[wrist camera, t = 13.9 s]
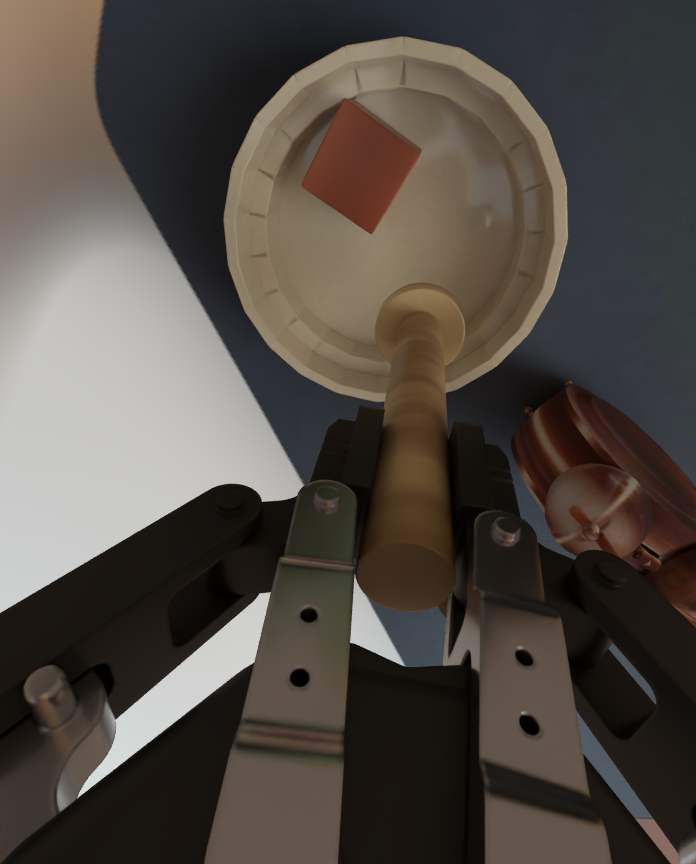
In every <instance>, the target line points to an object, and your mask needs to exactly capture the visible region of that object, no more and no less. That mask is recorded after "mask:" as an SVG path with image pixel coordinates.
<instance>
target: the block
mask: <svg viewBox="0 0 696 864" xmlns="http://www.w3.org/2000/svg"><path fill="white" fill-rule="evenodd" d="M421 152H422V150H421V148H419V147H418V146H417V145H415V144H414V143H413V142H411V141H410V140H409V139H407V138H406V137H405V136H403V135H402V134H401V133H399V132H398V131H396V130H395V129H394V128H392V127H391V126H390V125H388V124H387V123H386V122H384V121H383V120H382V119H380V118H379V117H378V116H376V115H375V114H374V113H372V112H371V111H370V110H368V109H367V108H366V107H364V106H363V105H362V104H360V103H359V102H357V101H354V100H350V99H346V98H344V99H343V100H342V102H341V104H340V106H339V108H338V110H337V112H336V114H335V116H334V118H333V120H332V122H331V125H330V127H329V129H328V131H327V133H326V135H325V137H324V139H323V141H322V143H321V145H320V147H319V149H318V151H317V153H316V155H315V157H314V159H313V161H312V163H311V165H310V167H309V170H308V172H307V174H306V176H305V178H304V180H303V182H302V184H301V186H302V187H303V188H304V189H306V190H307V191H309V192H310V193H312V194H313V195H314V196H316V197H317V198H319V199H320V200H322V201H323V202H325V203H326V204H327V205H329V206H330V207H332V208H333V209H335V210H336V211H338V212H339V213H340V214H342V215H343V216H345V217H346V218H348V219H349V220H351V221H352V222H353V223H355V224H356V225H358V226H359V227H361V228H362V229H364V230H365V231H366V232H368V233H369V234H373V232H374V231H375V229H376V227H377V226H378V224H379V222H380V221H381V219H382V217H383V216H384V214H385V212H386V211H387V209H388V207H389V206H390V204H391V203H392V201H393V199H394V198H395V196H396V194H397V193H398V191H399V189H400V188H401V186H402V184H403V183H404V181H405V179H406V178H407V176H408V174H409V173H410V171H411V170H412V168H413V166H414V165H415V163H416V161H417V160H418V158H419V156H420V154H421Z"/></svg>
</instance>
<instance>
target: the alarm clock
mask: <svg viewBox="0 0 696 864" xmlns="http://www.w3.org/2000/svg"><path fill="white" fill-rule="evenodd" d="M565 386H566V388H565V389H563V390H562V391H561V392H559V393H558V394H557V395H555V396H554V397H552V398H551V399H549V400H548V401H547V402H545V403H544V404H542V405H541V406H540V407H539V408H538V409H537V410H536V411H535V412H534V413H533V412H532V411H533V410H532V408H531V407H526V408H525V410H524V412H525V413H526V414H528V415H529V418H528V419H527V420H526V422H525V423H524V424H523V425H522V426H521V427H520V428H519V429H518V430H517V432H516V433H515V434H514V435H513V437H512V440H511V448H512V452H513V456H514V459H515V462H516V464H517V468H518V470H519V472H520V475H521V477H522V479H523V481H524V483H525V484H526V486H527V488H528V489H529V491H530V493H531V494H532V496H533V497H534V499H535V500H536V502H537V503H538V504H539V506H540V507H541V509H542V510H543V511H544V512H545V518H546V522H547V526H548V528H549V530H550V532H551V534H552V535H553V537H554V538H555V540H556V541H557V542H558V543H559V544H560V545H561V546H562V547H563V548H564V549H565V550H567V551H568V552H570V553H572V554H573V555H575V556H578V555H579V554H580V553H581V552H583V551H586V550H601V551H605V552H608V553H611V554H614V555H616V556H618V557H620V558H621V559H623V560H625V561H626V562H627V563H629V564H630V565H631V566H632V567H634V568H635V569H636V570H637V571H638V572H639V573H640V574H641V575H642V576H643V577H644V578H645V579H646V580H647V581H648V582H649V583H650V584H651V585H652V586H653V587H654V588H655V589H656V590H657V591H659V592H660V593H661V594H662V595H663V596H664V597H665V598H666V599H667V600H668V601H669V602H670V603H671V604H672V605H673V606H674V607H675V608H676V609H677V610H678V611H679V612H680V613H681V614H682V615H683V616H685V617H686V618H687V619H688V620H689V621H690V622H691V623H692V624H693V625H694V626H695V627H696V488H695V486H694V485H693V484H692V482H691V481H690V480H689V478H688V477H687V476H686V475H685V473H684V472H683V471H682V470H681V469H680V468H679V466H678V465H677V464H676V463H675V462H674V461H673V460H672V459H671V458H670V456H669V455H668V454H667V453H666V452H665V451H664V450H663V449H662V448H661V447H660V446H659V445H658V444H657V443H656V442H655V441H654V440H653V439H652V438H651V437H650V436H648V435H647V434H646V433H645V432H644V431H643V430H642V429H641V428H640V427H639V426H638V425H636V424H635V423H634V422H633V421H632V420H630V419H629V418H628V417H627V416H626V415H624V414H623V413H622V412H620V411H619V410H618V409H616V408H615V407H613V406H612V405H611V404H609V403H607V402H606V401H604V400H602V399H600V398H598V397H596V396H595V395H593V394H592V393H590V392H588V391H587V390H585V389H583V388H581V387H578V386H575V385H573V383H572V382H571V381H566V382H565Z"/></svg>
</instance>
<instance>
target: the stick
mask: <svg viewBox="0 0 696 864" xmlns="http://www.w3.org/2000/svg"><path fill="white" fill-rule="evenodd" d="M465 330H466V327H465V320H464V315H463V311H462V309H461V306H460V304H459V303H458V301H457V300H456V298H455V297H454V296H453V295H452V294H451V293H450V292H448V291H447V290H445V289H444V288H442V287H440V286H437V285H434V284H430V283H413V284H409V285H406V286H403V287H401V288H399V289H397V290H396V291H395V292H393V293H392V294H391V295H390V296H389V297H388V298H387V299H386V300H385V302H384V303H383V305H382V306H381V308H380V310H379V313H378V317H377V320H376V324H375V339H376V344H377V346H378V349H379V351H380V353H381V354H382V356H383V357H384V358H385V359H386V360H387V361H388V362H389V363H390V364H391V368H390V374H389V380H388V385H387V391H386V397H385V403H384V408H383V409H385V413H384V419H383V425H382V431H381V437H380V443H379V449H378V455H377V461H376V467H375V473H374V479H373V485H372V491H371V497H370V503H369V509H368V514H367V516H366V518H365V520H364V524H363V529H362V534H361V540H360V546H359V552H358V557H357V563H356V569H355V575H356V579H357V582H358V585H359V587H360V588H361V590H362V591H363V592H364V593H365V594H366V595H367V596H368V597H369V598H370V599H371V600H373V601H374V602H376V603H378V604H380V605H382V606H384V607H387V608H390V609H394V610H399V611H410V612H411V611H422V610H427V609H430V608H433V607H435V606H438V605H439V604H441V603H443V602H444V601H445V600H446V599H447V598H448V597H449V596H450V595H451V593H452V592H453V590H454V587H455V583H456V570H455V552H454V534H453V516H452V498H451V479H450V461H449V443H448V425H447V407H446V389H445V371H444V367H445V366H446V365H447V364H449V363H450V362H451V361H452V360H453V359H454V358H455V357H456V356H457V354H458V353H459V351H460V350H461V347H462V345H463V342H464V339H465Z"/></svg>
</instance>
